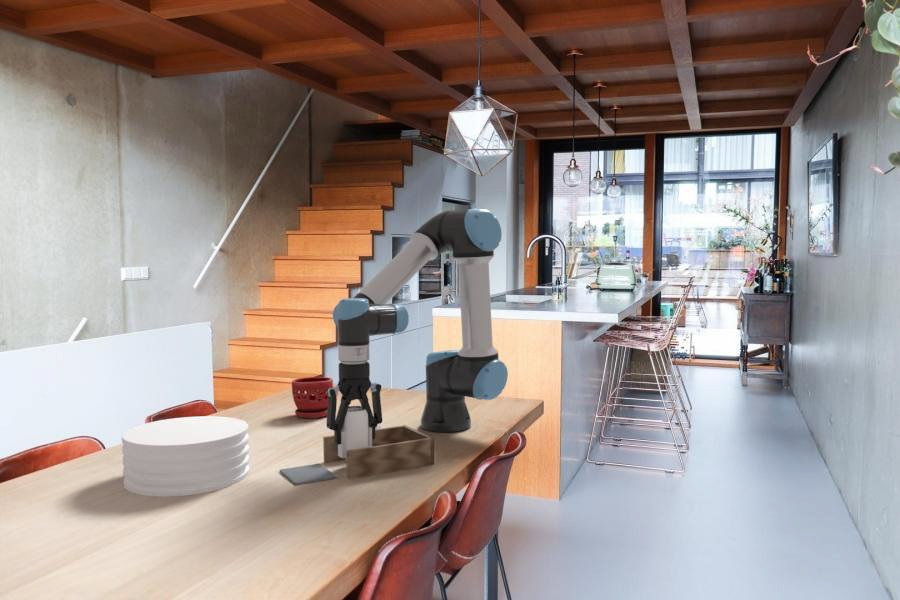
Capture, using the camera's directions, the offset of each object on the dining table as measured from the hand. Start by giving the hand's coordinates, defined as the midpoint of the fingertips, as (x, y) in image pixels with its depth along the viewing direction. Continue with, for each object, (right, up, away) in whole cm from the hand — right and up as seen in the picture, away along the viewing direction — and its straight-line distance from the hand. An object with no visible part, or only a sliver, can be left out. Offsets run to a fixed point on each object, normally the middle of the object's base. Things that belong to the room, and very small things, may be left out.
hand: (355, 454), depth 178 cm
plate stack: (-39, -4, -6) cm, 40 cm away
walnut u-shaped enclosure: (+5, -3, +3) cm, 7 cm away
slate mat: (-11, -4, -6) cm, 13 cm away
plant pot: (-21, 0, +57) cm, 61 cm away
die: (+1, -2, +18) cm, 18 cm away
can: (0, -1, 0) cm, 1 cm away
